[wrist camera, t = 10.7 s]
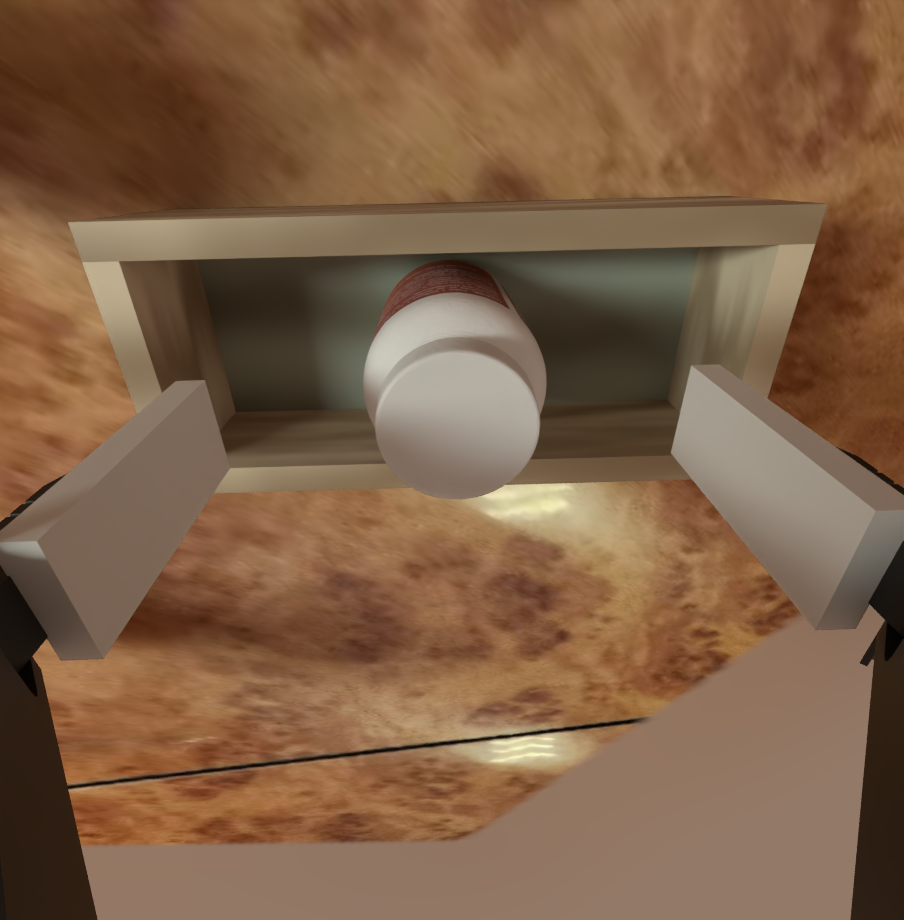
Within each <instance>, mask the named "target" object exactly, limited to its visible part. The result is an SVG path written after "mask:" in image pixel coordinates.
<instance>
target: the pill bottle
mask: <svg viewBox="0 0 904 920" xmlns="http://www.w3.org/2000/svg"><path fill="white" fill-rule="evenodd" d="M546 385H547V382H546V369H545V364H544V360H543V356H542V353H541V351H540V348H539V346H538V344H537V342H536V340H535V338H534V336H533V334H532V332H531V331H530V329H529V328H528V326H527V324H526V323H525V321H524V319H523V318H522V316H521V314H520V313H519V311H518V309H517V308H516V306H515V304H514V303H513V301H512V299H511V298H510V296H509V295H508V293H507V291H506V290H505V289H504V287H503V286H502V285H501V284H500V283H499V281H498V280H497V279H496V278H495V277H494V276H492V275H491V274H490V273H489V272H487V271H486V270H484V269H483V268H481V267H479V266H477V265H474V264H472V263H469V262H465V261H460V260H453V259H444V260H436V261H432V262H428V263H425V264H423V265H421V266H419V267H417V268H415V269H413V270H412V271H410V272H409V273H408V274H406V275H405V276H404V277H403V278H402V279H401V280H400V281H399V282H398V283H397V285H396V286H395V287H394V289H393V290H392V292H391V293H390V295H389V297H388V299H387V301H386V304H385V306H384V309H383V312H382V315H381V318H380V321H379V323H378V326H377V329H376V332H375V335H374V337H373V340H372V343H371V345H370V348H369V351H368V355H367V358H366V363H365V368H364V375H363V394H364V400H365V405H366V408H367V412H368V414H369V417H370V420H371V421H372V423H373V425H374V427H375V434H376V440H377V444H378V447H379V450H380V452H381V455H382V457H383V459H384V460H385V462H386V464H387V465H388V467H389V468H390V469H391V471H392V472H393V473H394V474H395V475H396V476H397V477H398V478H399V479H400V480H401V481H403V482H404V483H405V484H407V485H408V486H410V487H412V488H413V489H415V490H417V491H420V492H422V493H424V494H427V495H430V496H434V497H438V498H445V499H467V498H473V497H478V496H482V495H485V494H488V493H490V492H493V491H495V490H497V489H499V488H501V487H502V486H504V485H505V484H507V483H508V482H510V481H511V480H512V479H513V478H515V477H516V476H517V475H518V474H519V473H520V472H521V471H522V470H523V468H524V467H525V466H526V465H527V463H528V462H529V460H530V458H531V457H532V455H533V453H534V450H535V448H536V445H537V442H538V438H539V432H540V414H541V411H542V408H543V404H544V400H545V395H546Z"/></svg>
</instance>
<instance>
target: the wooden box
mask: <svg viewBox="0 0 904 920" xmlns="http://www.w3.org/2000/svg"><path fill="white" fill-rule="evenodd" d="M827 205H828V204H824V203H811V202H798V201H785V200H772V199H759V198H746V197H733V196H712V197H670V198H629V199H587V200H546V201H504V202H463V203H421V204H380V205H338V206H297V207H255V208H214V209H172V210H158V211H151V212H143V213H135V214H128V215H120V216H112V217H104V218H97V219H89V220H81V221H74V222H68V224H69V227H70V230H71V233H72V235H73V238H74V241H75V244H76V246H77V249H78V252H79V255H80V257H81V260H82V263H83V266H84V269H85V271H86V274H87V277H88V280H89V282H90V285H91V288H92V291H93V293H94V296H95V299H96V302H97V305H98V307H99V310H100V313H101V316H102V318H103V321H104V324H105V327H106V329H107V332H108V335H109V338H110V341H111V343H112V346H113V349H114V352H115V354H116V357H117V360H118V363H119V365H120V368H121V371H122V374H123V376H124V379H125V382H126V385H127V388H128V390H129V393H130V396H131V399H132V401H133V404H134V407H135V410H136V412H137V414H138V413H139V412H140V411H141V410H143V409H144V408H145V407H146V406H147V405H148V404H150V403H151V402H152V401H153V400H154V399H155V398H157V397H158V396H159V395H160V394H161V393H163V392H164V391H165V390H166V389H167V388H168V387H170V386H171V385H172V384H173V383H174V382H175V381H192V380H205V382H206V386H207V389H208V393H209V396H210V400H211V403H212V407H213V410H214V413H215V417H216V420H217V424H218V427H219V431H220V434H221V438H222V441H223V445H224V448H225V452H226V455H227V459H228V462H229V466H230V469H229V470H228V472H227V473H226V475H225V476H224V478H223V479H222V481H221V482H220V484H219V486H218V487H217V489H216V490H215V492H214V493H243V492H277V491H311V490H345V489H379V488H412V487H410V486H408V485H407V484H405V483H404V482H403V481H401V480H400V479H399V478H398V477H397V476H396V475H395V474H394V473H393V472H392V471H391V469H390V468H389V467H388V465H387V464H386V462H385V460H384V459H383V457H382V455H381V452H380V450H379V447H378V444H377V440H376V434H375V427H374V425H373V423H372V421H371V420H370V417H369V414H368V412H367V408H366V405H365V400H364V394H363V375H364V368H365V363H366V358H367V355H368V351H369V348H370V345H371V343H372V340H373V337H374V335H375V332H376V329H377V326H378V323H379V321H380V318H381V315H382V312H383V309H384V306H385V304H386V301H387V299H388V297H389V295H390V293H391V292H392V290H393V289H394V287H395V286H396V285H397V283H398V282H399V281H400V280H401V279H402V278H403V277H404V276H405V275H406V274H408V273H409V272H410V271H412V270H413V269H415V268H417V267H419V266H421V265H423V264H425V263H428V262H432V261H436V260H444V259H453V260H460V261H465V262H469V263H472V264H474V265H477V266H479V267H481V268H483V269H484V270H486V271H487V272H489V273H490V274H491V275H492V276H494V277H495V278H496V279H497V280H498V281H499V283H500V284H501V285H502V286H503V287H504V289H505V290H506V291H507V293H508V295H509V296H510V298H511V299H512V301H513V303H514V304H515V306H516V308H517V309H518V311H519V313H520V314H521V316H522V318H523V319H524V321H525V323H526V324H527V326H528V328H529V329H530V331H531V332H532V334H533V336H534V338H535V340H536V342H537V344H538V346H539V348H540V351H541V353H542V356H543V360H544V364H545V369H546V382H547V385H546V395H545V400H544V404H543V408H542V411H541V414H540V432H539V438H538V442H537V445H536V448H535V450H534V453H533V455H532V457H531V458H530V460H529V462H528V463H527V465H526V466H525V467H524V468H523V470H522V471H521V472H520V473H519V474H518V475H517V476H516V477H515V478H513V479H512V480H511V481H510V482H508V483H507V484H505V485H515V484H549V483H583V482H617V481H651V480H686V479H691V477H690V476H689V475H688V474H687V472H686V471H685V470H684V469H683V467H682V466H681V465H680V464H679V463H678V461H677V460H676V459H675V458H674V456H673V455H672V454H671V450H672V446H673V441H674V437H675V433H676V429H677V424H678V420H679V416H680V411H681V407H682V403H683V399H684V394H685V390H686V386H687V381H688V377H689V373H690V369H691V365H716V364H719V365H721V366H722V367H724V368H725V369H726V370H728V371H729V372H731V373H732V374H733V375H735V376H736V377H738V378H739V379H740V380H742V381H743V382H745V383H746V384H747V385H749V386H750V387H752V388H753V389H755V390H756V391H757V392H759V393H760V394H762V395H763V396H764V397H766V398H768V395H769V391H770V388H771V385H772V382H773V379H774V375H775V372H776V369H777V366H778V363H779V359H780V356H781V353H782V350H783V347H784V343H785V340H786V337H787V334H788V330H789V327H790V324H791V321H792V318H793V314H794V311H795V308H796V305H797V302H798V298H799V295H800V292H801V289H802V286H803V282H804V279H805V276H806V273H807V269H808V266H809V263H810V260H811V257H812V253H813V250H814V247H815V244H816V241H817V237H818V234H819V231H820V228H821V225H822V221H823V218H824V215H825V212H826V208H827Z"/></svg>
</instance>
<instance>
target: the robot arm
mask: <svg viewBox="0 0 904 920" xmlns="http://www.w3.org/2000/svg"><path fill="white" fill-rule="evenodd" d="M671 454H672V455H673V456H674V458H675V459H676V460H677V461H678V463H679V464H680V465H681V466H682V467H683V469H684V470H685V471H686V472H687V474H688V475H689V476H690V477H691V479H692V480H693V481H694V482H695V483H696V485H697V486H698V487H699V488H700V490H701V491H702V492H703V493H704V494H705V496H706V497H707V498H708V499H709V501H710V502H711V503H712V504H713V506H714V507H715V508H716V509H717V510H718V512H719V513H720V514H721V515H722V517H723V518H724V519H725V520H726V521H727V523H728V524H729V525H730V526H731V528H732V529H733V530H734V531H735V533H736V534H737V535H738V536H739V537H740V539H741V540H742V541H743V542H744V544H745V545H746V546H747V547H748V548H749V550H750V551H751V552H752V553H753V555H754V556H755V557H756V558H757V560H758V561H759V562H760V563H761V564H762V566H763V567H764V568H765V569H766V571H767V572H768V573H769V574H770V575H771V577H772V578H773V579H774V580H775V582H776V583H777V584H778V585H779V587H780V588H781V589H782V590H783V591H784V593H785V594H786V595H787V596H788V598H789V599H790V600H791V601H792V602H793V604H794V605H795V606H796V607H797V609H798V610H799V611H800V612H801V614H802V615H803V616H804V617H805V618H806V620H807V621H808V622H809V623H810V624H811V626H812V627H813V628H814V629H815V630H836V629H856V627H857V626H858V624H859V622H860V620H861V619H862V617H863V615H864V613H865V611H866V610H867V608H868V606H869V604H870V605H871V606H872V607H873V608H874V609H875V610H876V611H877V612H878V613H879V614H880V615H881V616H882V617H883V618H884V619H885V621H884V623H883V625H882V626H881V628H880V630H879V631H878V633H877V635H876V636H875V638H874V640H873V642H872V643H871V645H870V646H869V648H868V650H867V651H866V653H865V655H864V656H863V658H862V660H861V662H860V664H863V665H865V666H867V665H868V664H869V662H870V661H871V660H872V659H874V667H873V678H872V690H871V700H870V712H869V722H868V723H869V724H868V734H867V745H866V755H865V767H864V777H863V788H862V799H861V810H860V822H859V832H858V844H857V854H856V865H855V876H854V888H853V898H852V909H851V920H904V488H903V487H901V486H900V485H898V484H894V481H893V480H891V479H890V478H888V477H887V476H885V475H884V474H882V473H878V472H877V471H878V470H877V469H875V468H874V467H872V466H871V465H870V464H868V463H867V462H865V461H864V460H862V459H861V458H859V457H858V456H856V455H853V454H851V453H849V452H847V451H844V450H842V449H840V448H837V447H835V446H833V445H832V444H831V443H829V442H828V441H826V440H825V439H824V438H822V437H821V436H819V435H818V434H817V433H815V432H814V431H812V430H811V429H810V428H808V427H807V426H805V425H804V424H802V423H801V422H800V421H798V420H797V419H795V418H794V417H793V416H791V415H790V414H788V413H787V412H786V411H784V410H783V409H781V408H780V407H779V406H777V405H776V404H774V403H773V402H771V401H770V400H769V399H767V398H766V397H764V396H763V395H762V394H760V393H759V392H757V391H756V390H755V389H753V388H752V387H750V386H749V385H747V384H746V383H745V382H743V381H742V380H740V379H739V378H738V377H736V376H735V375H733V374H732V373H731V372H729V371H728V370H726V369H725V368H724V367H722V366H721V365H719V364H716V365H691V369H690V373H689V377H688V381H687V386H686V390H685V394H684V399H683V403H682V407H681V411H680V416H679V420H678V424H677V429H676V433H675V437H674V441H673V446H672V450H671ZM229 469H230V466H229V462H228V459H227V455H226V452H225V448H224V445H223V441H222V438H221V434H220V431H219V427H218V424H217V420H216V417H215V413H214V410H213V407H212V403H211V400H210V396H209V393H208V389H207V386H206V382H205V380H192V381H175V382H174V383H173V384H172V385H171V386H170V387H168V388H167V389H166V390H165V391H164V392H163V393H161V394H160V395H159V396H158V397H157V398H155V399H154V400H153V401H152V402H151V403H150V404H148V405H147V406H146V407H145V408H144V409H143V410H141V411H140V412H139V413H138V414H137V415H136V416H134V417H133V418H132V419H131V420H130V421H129V422H127V423H126V424H125V425H124V426H123V427H121V428H120V429H119V430H118V431H117V432H116V433H114V434H113V435H112V436H111V437H110V438H109V439H107V440H106V441H105V442H104V443H103V444H102V445H100V446H99V447H98V448H97V449H96V450H95V451H93V452H92V453H91V454H90V455H89V456H88V457H86V458H85V459H84V460H83V461H82V462H80V463H79V464H78V465H77V466H76V467H75V468H73V469H72V470H71V471H70V472H69V473H67V474H65V475H63V476H62V477H60V478H58V479H56V480H54V481H52V482H50V483H48V484H46V485H45V486H43V487H42V488H41V489H39V490H38V491H37V492H36V493H35V494H33V495H32V496H31V497H30V498H29V499H27V500H26V501H25V502H26V504H21V505H20V506H19V507H18V508H17V509H15V510H14V511H13V512H12V513H11V514H10V517H6V518H5V519H3V520H2V521H1V522H0V920H97V915H96V911H95V906H94V902H93V898H92V893H91V889H90V884H89V880H88V875H87V871H86V866H85V862H84V858H83V854H82V849H81V844H80V840H79V835H78V831H77V827H76V822H75V818H74V813H73V809H72V804H71V800H70V796H69V791H68V787H67V782H66V778H65V773H64V769H63V765H62V760H61V756H60V751H59V747H58V742H57V738H56V734H55V729H54V725H53V720H52V716H51V711H50V707H49V703H48V698H47V694H46V689H45V685H44V681H43V676H42V672H41V669H40V667H39V666H38V664H37V663H36V661H35V660H34V658H33V657H32V656H33V655H34V653H35V652H36V651H37V650H38V648H39V647H40V646H41V645H42V643H43V642H44V641H45V640H46V639H48V641H49V642H50V644H51V646H52V647H53V649H54V650H55V652H56V653H57V655H58V657H59V658H60V660H61V661H63V660H88V659H104V658H105V656H106V655H107V653H108V651H109V650H110V648H111V647H112V645H113V644H114V642H115V641H116V639H117V638H118V636H119V635H120V633H121V632H122V630H123V629H124V627H125V626H126V624H127V623H128V621H129V620H130V618H131V617H132V615H133V614H134V612H135V611H136V609H137V608H138V606H139V605H140V603H141V602H142V600H143V599H144V597H145V596H146V594H147V593H148V591H149V590H150V588H151V587H152V585H153V584H154V582H155V581H156V579H157V578H158V576H159V575H160V573H161V572H162V570H163V569H164V567H165V565H166V564H167V562H168V561H169V559H170V558H171V556H172V555H173V553H174V552H175V550H176V549H177V547H178V546H179V544H180V543H181V541H182V540H183V538H184V537H185V535H186V534H187V532H188V531H189V529H190V528H191V526H192V525H193V523H194V522H195V520H196V519H197V517H198V516H199V514H200V513H201V511H202V510H203V508H204V507H205V505H206V504H207V502H208V501H209V499H210V498H211V496H212V495H213V493H214V492H215V490H216V489H217V487H218V486H219V484H220V482H221V481H222V479H223V478H224V476H225V475H226V473H227V472H228V470H229Z"/></svg>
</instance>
